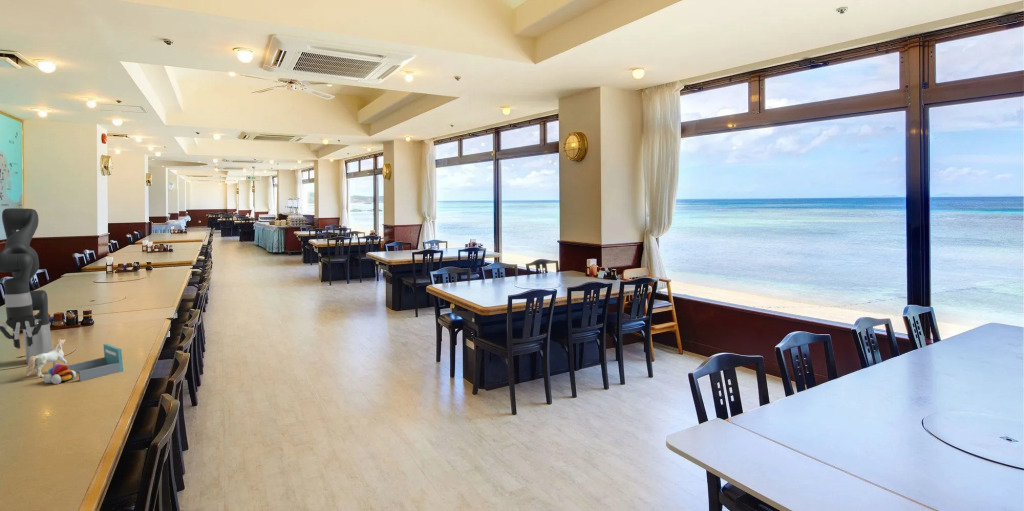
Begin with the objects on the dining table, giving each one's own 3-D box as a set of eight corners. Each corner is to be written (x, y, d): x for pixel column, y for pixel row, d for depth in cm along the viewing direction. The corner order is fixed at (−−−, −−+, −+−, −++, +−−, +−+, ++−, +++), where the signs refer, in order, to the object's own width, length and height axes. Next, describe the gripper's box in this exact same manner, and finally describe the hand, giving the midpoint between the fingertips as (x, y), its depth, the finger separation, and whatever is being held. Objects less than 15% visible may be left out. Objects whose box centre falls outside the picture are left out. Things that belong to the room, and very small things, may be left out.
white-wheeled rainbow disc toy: (58, 385, 210) (57, 368, 209) (39, 384, 212) (38, 366, 211) (80, 378, 218) (78, 362, 217) (61, 377, 220) (60, 360, 219)
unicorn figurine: (78, 365, 235) (75, 336, 233) (43, 380, 216) (39, 349, 214) (62, 365, 234) (59, 337, 233) (24, 380, 215) (21, 349, 214)
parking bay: (66, 374, 222) (64, 352, 221) (108, 364, 235) (106, 343, 234) (80, 381, 214) (78, 358, 213) (123, 371, 227) (121, 349, 226)
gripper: (38, 300, 210) (43, 341, 212) (-9, 306, 199) (-4, 350, 201) (45, 302, 206) (49, 344, 208) (-3, 308, 195) (2, 353, 196)
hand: (23, 347), depth 204 cm, fingers closed
